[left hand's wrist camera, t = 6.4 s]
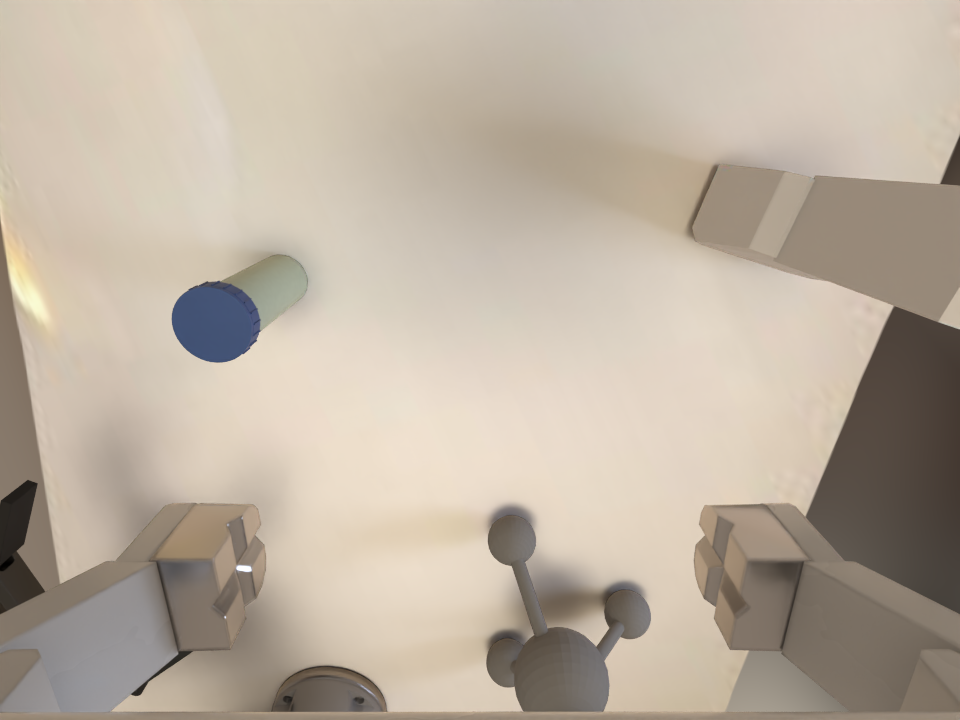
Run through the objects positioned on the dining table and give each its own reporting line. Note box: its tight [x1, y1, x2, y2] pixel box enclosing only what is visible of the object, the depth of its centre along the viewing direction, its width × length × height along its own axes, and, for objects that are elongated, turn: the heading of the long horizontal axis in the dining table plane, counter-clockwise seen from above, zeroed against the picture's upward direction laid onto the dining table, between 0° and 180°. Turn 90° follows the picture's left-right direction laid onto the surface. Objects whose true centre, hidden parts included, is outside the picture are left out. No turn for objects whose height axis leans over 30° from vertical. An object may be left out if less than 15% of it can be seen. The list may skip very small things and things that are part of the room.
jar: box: [220, 255, 307, 331], centre depth 50 cm, size 5×5×16 cm
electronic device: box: [692, 164, 960, 329], centre depth 41 cm, size 12×8×30 cm, turn 73°
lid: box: [172, 281, 261, 362], centre depth 43 cm, size 6×6×2 cm
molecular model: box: [486, 515, 651, 712], centre depth 57 cm, size 24×22×30 cm
